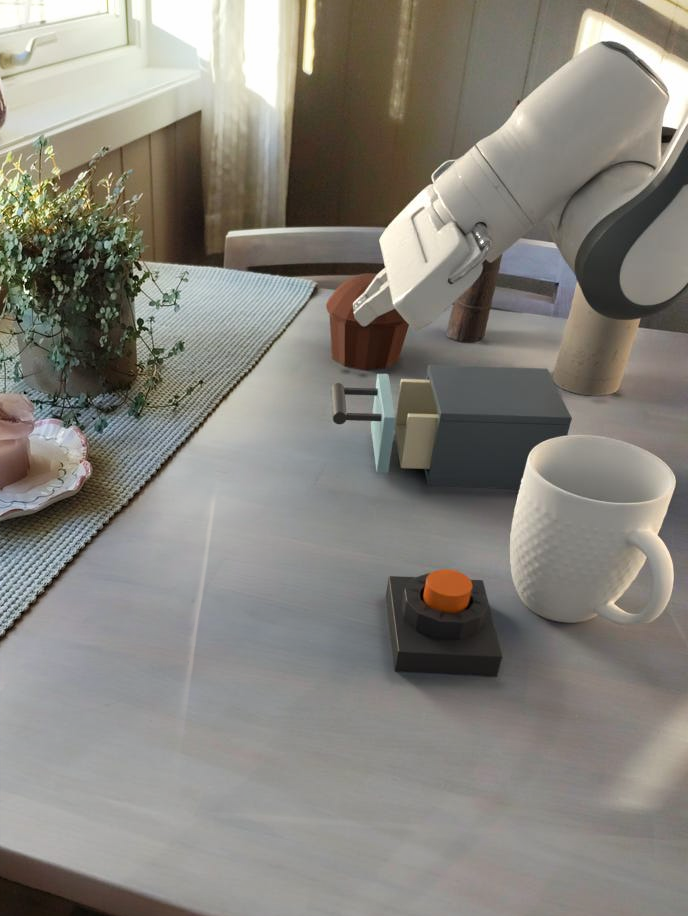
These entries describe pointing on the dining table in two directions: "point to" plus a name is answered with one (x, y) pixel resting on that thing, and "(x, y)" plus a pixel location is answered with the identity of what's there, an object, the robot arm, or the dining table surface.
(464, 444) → the dispenser
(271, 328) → the dining table surface
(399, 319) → the muffin
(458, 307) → the butter churn
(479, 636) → the control block
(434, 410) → the tray
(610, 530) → the mug
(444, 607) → the button
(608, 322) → the thermos bottle
